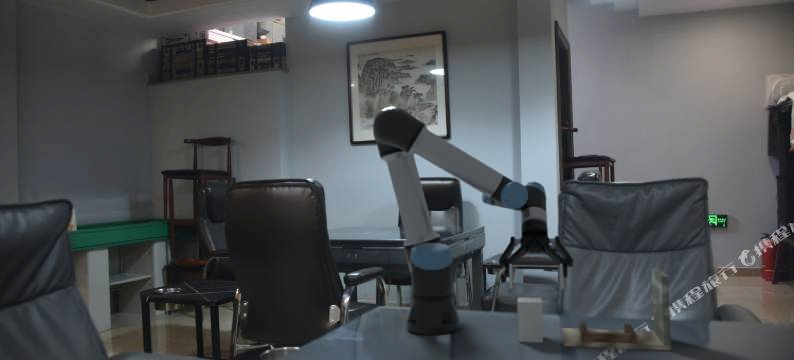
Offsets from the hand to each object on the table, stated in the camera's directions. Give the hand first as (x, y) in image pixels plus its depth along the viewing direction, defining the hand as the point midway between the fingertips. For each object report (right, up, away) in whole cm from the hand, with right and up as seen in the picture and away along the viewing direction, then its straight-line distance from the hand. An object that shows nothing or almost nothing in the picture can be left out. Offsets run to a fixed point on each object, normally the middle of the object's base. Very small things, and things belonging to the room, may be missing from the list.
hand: (536, 286), depth 155 cm
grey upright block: (-3, -12, -8) cm, 15 cm away
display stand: (+16, -11, -12) cm, 23 cm away
